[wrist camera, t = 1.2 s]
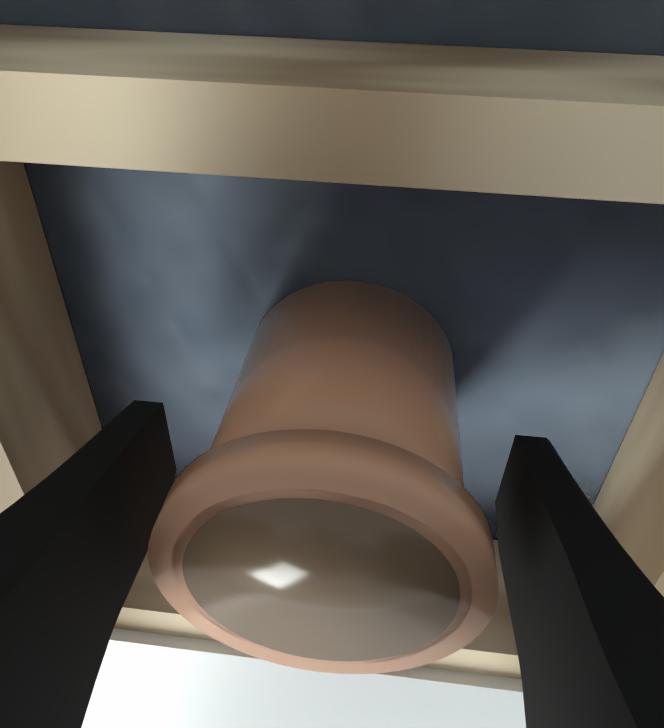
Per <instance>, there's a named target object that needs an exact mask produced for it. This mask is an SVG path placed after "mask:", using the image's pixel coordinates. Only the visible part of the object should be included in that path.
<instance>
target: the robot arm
mask: <svg viewBox="0 0 664 728" xmlns="http://www.w3.org/2000/svg"><path fill="white" fill-rule="evenodd" d="M175 474H176V465H175V460H174V455H173V450H172V445H171V441H170V436H169V431H168V426H167V421H166V416H165V411H164V406H163V403H159V402H148V401H137V400H134V401H133V402H132V403H131V404H130V405H129V406H127V407H126V408H125V409H124V410H123V411H122V412H120V413H119V414H118V415H117V416H116V417H115V418H114V419H113V420H112V421H110V422H109V423H108V424H107V425H106V426H105V427H104V428H103V429H102V430H100V431H99V432H98V433H97V434H96V435H95V436H94V437H93V438H91V439H90V440H89V441H88V442H87V443H86V444H85V445H84V446H83V447H81V448H80V449H79V450H78V451H77V452H76V453H74V454H73V455H72V456H71V457H70V458H69V459H67V460H66V461H65V462H64V463H63V464H62V465H60V466H59V467H58V468H57V469H56V470H55V471H53V472H52V473H51V474H50V475H49V476H47V477H46V478H45V479H44V480H42V481H41V482H40V483H39V484H37V485H36V486H35V487H34V488H32V489H31V490H30V491H28V492H27V493H26V494H25V495H23V496H22V497H21V498H20V499H18V500H17V501H16V502H15V503H13V504H12V505H11V506H9V507H8V508H7V509H5V510H4V511H3V512H1V513H0V728H81V727H82V724H83V721H84V718H85V714H86V711H87V708H88V705H89V701H90V698H91V695H92V692H93V689H94V685H95V682H96V679H97V676H98V673H99V670H100V667H101V664H102V661H103V658H104V655H105V652H106V649H107V646H108V643H109V640H110V637H111V634H112V632H113V629H114V626H115V624H116V621H117V619H118V616H119V614H120V611H121V609H122V607H123V605H124V602H125V600H126V598H127V596H128V594H129V591H130V589H131V587H132V585H133V582H134V580H135V578H136V576H137V573H138V571H139V569H140V567H141V564H142V562H143V560H144V558H145V555H146V553H147V551H148V543H149V539H150V536H151V532H152V529H153V527H154V525H155V522H156V520H157V518H158V515H159V513H160V511H161V508H162V506H163V504H164V501H165V499H166V497H167V494H168V492H169V490H170V488H171V487H172V484H173V481H174V477H175ZM495 505H496V523H497V538H498V551H499V556H500V562H501V568H502V573H503V578H504V584H505V589H506V595H507V600H508V605H509V611H510V616H511V621H512V626H513V632H514V637H515V642H516V648H517V653H518V658H519V665H520V672H521V679H522V688H523V699H524V710H525V721H526V728H664V597H663V596H662V594H661V593H660V592H659V591H658V590H657V589H656V587H655V586H654V585H653V584H652V583H651V582H650V580H649V579H648V578H647V577H646V576H645V574H644V573H643V572H642V571H641V569H640V568H639V567H638V566H637V564H636V563H635V562H634V561H633V559H632V558H631V557H630V556H629V555H628V553H627V552H626V551H625V549H624V548H623V547H622V545H621V544H620V543H619V542H618V540H617V539H616V538H615V536H614V535H613V534H612V532H611V531H610V529H609V528H608V527H607V525H606V524H605V523H604V521H603V520H602V518H601V517H600V516H599V514H598V513H597V512H596V510H595V509H594V507H593V506H592V505H591V503H590V502H589V500H588V499H587V497H586V496H585V494H584V493H583V491H582V490H581V488H580V487H579V485H578V484H577V483H576V481H575V480H574V478H573V476H572V475H571V473H570V472H569V470H568V469H567V467H566V466H565V464H564V463H563V461H562V460H561V458H560V456H559V455H558V453H557V452H556V450H555V449H554V447H553V445H552V444H551V442H550V441H549V440H548V439H547V438H542V437H531V436H520V435H515V438H514V442H513V445H512V448H511V452H510V455H509V458H508V462H507V465H506V468H505V472H504V475H503V478H502V482H501V485H500V488H499V492H498V495H497V498H496V502H495Z"/></svg>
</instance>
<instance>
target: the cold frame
mask: <svg viewBox="0 0 664 728" xmlns="http://www.w3.org/2000/svg"><path fill="white" fill-rule="evenodd" d="M23 162H26V163H41V164H56V165H71V166H87V167H102V168H117V169H132V170H148V171H163V172H178V173H194V174H209V175H224V176H239V177H255V178H270V179H285V180H301V181H316V182H331V183H346V184H362V185H377V186H392V187H408V188H423V189H438V190H453V191H469V192H484V193H499V194H515V195H530V196H545V197H560V198H576V199H591V200H606V201H622V202H637V203H652V204H664V56H657V55H636V54H615V53H594V52H573V51H552V50H531V49H510V48H488V47H467V46H446V45H425V44H404V43H383V42H362V41H341V40H320V39H299V38H278V37H257V36H236V35H215V34H193V33H172V32H151V31H130V30H109V29H88V28H67V27H46V26H25V25H4V24H0V513H1V512H3V511H4V510H5V509H7V508H8V507H9V506H11V505H12V504H13V503H15V502H16V501H17V500H18V499H20V498H21V497H22V496H23V495H25V494H26V493H27V492H28V491H30V490H31V489H32V488H34V487H35V486H36V485H37V484H39V483H40V482H41V481H42V480H44V479H45V478H46V477H47V476H49V475H50V474H51V473H52V472H53V471H55V470H56V469H57V468H58V467H59V466H60V465H62V464H63V463H64V462H65V461H66V460H67V459H69V458H70V457H71V456H72V455H73V454H74V453H76V452H77V451H78V450H79V449H80V448H81V447H83V446H84V445H85V444H86V443H87V442H88V441H89V440H90V439H91V438H93V437H94V436H95V435H96V434H97V433H98V432H99V431H100V430H102V428H101V424H100V421H99V418H98V414H97V411H96V407H95V404H94V401H93V397H92V394H91V391H90V387H89V384H88V380H87V377H86V374H85V370H84V367H83V363H82V360H81V357H80V353H79V350H78V346H77V343H76V340H75V336H74V333H73V330H72V326H71V323H70V319H69V316H68V313H67V309H66V306H65V302H64V299H63V296H62V292H61V289H60V285H59V282H58V279H57V275H56V272H55V269H54V265H53V262H52V258H51V255H50V252H49V248H48V245H47V241H46V238H45V235H44V231H43V228H42V225H41V221H40V218H39V214H38V211H37V208H36V204H35V201H34V197H33V194H32V191H31V187H30V184H29V180H28V177H27V174H26V170H25V167H24V164H23ZM593 507H594V509H595V510H596V512H597V513H598V514H599V516H600V517H601V518H602V520H603V521H604V523H605V524H606V525H607V527H608V528H609V529H610V531H611V532H612V534H613V535H614V536H615V538H616V539H617V540H618V542H619V543H620V544H621V545H622V547H623V548H624V549H625V551H626V552H627V553H628V555H629V556H630V557H631V558H632V559H633V561H634V562H635V563H636V564H637V566H638V567H639V568H640V569H641V571H642V572H643V573H644V574H645V576H646V577H647V578H648V579H649V580H650V582H651V583H652V584H653V585H654V586H655V587H656V589H657V590H658V591H659V592H660V593H661V594H662V596H663V597H664V352H663V354H662V357H661V359H660V361H659V363H658V365H657V368H656V370H655V372H654V374H653V376H652V378H651V381H650V383H649V385H648V387H647V389H646V392H645V394H644V396H643V398H642V400H641V402H640V405H639V407H638V409H637V411H636V413H635V416H634V418H633V420H632V422H631V424H630V426H629V429H628V431H627V433H626V435H625V437H624V440H623V442H622V444H621V446H620V448H619V450H618V453H617V455H616V457H615V459H614V461H613V463H612V466H611V468H610V470H609V472H608V474H607V477H606V479H605V481H604V483H603V485H602V487H601V490H600V492H599V494H598V496H597V498H596V501H595V503H594V505H593ZM493 545H494V553H495V561H496V569H497V577H498V601H497V605H496V609H495V612H494V614H493V616H492V618H491V620H490V622H489V623H488V625H487V626H486V627H485V628H484V630H483V631H482V632H481V633H480V634H479V635H478V636H477V637H476V638H475V639H474V640H473V641H472V642H470V643H469V644H467V645H466V646H464V647H463V648H461V649H460V650H458V651H457V652H455V653H453V654H451V655H449V656H447V657H445V658H442V659H440V660H437V661H434V662H432V663H429V664H426V665H422V666H418V667H415V668H411V669H405V670H400V671H394V672H385V673H376V674H335V673H325V672H316V671H309V670H303V669H297V668H293V667H288V666H284V665H279V664H276V663H272V662H269V661H266V660H262V659H259V658H256V657H254V656H251V655H248V654H245V653H243V652H241V651H238V650H236V649H234V648H231V647H229V646H227V645H225V644H223V643H221V642H219V641H218V640H216V639H214V638H212V637H210V636H209V635H207V634H206V633H204V632H202V631H201V630H199V629H198V628H196V627H195V626H194V625H192V624H191V623H190V622H189V621H187V620H186V619H185V618H183V617H182V616H181V615H180V614H179V613H178V612H177V611H176V610H175V609H174V608H173V607H172V606H171V605H170V603H169V602H168V601H167V600H166V598H165V597H164V596H163V595H162V593H161V592H160V590H159V588H158V587H157V585H156V583H155V581H154V578H153V576H152V573H151V571H150V567H149V561H148V551H147V553H146V555H145V558H144V560H143V562H142V564H141V567H140V569H139V571H138V573H137V576H136V578H135V580H134V582H133V585H132V587H131V589H130V591H129V594H128V596H127V598H126V600H125V602H124V605H123V607H122V609H121V611H120V614H119V616H118V619H117V621H116V624H115V626H114V629H113V632H112V634H111V637H110V640H109V643H108V646H107V649H106V652H105V655H104V658H103V661H102V664H101V667H100V670H99V673H98V676H97V679H96V682H95V685H94V689H93V692H92V695H91V698H90V701H89V705H88V708H87V711H86V714H85V718H84V721H83V724H82V727H81V728H526V721H525V710H524V699H523V688H522V679H521V672H520V665H519V658H518V653H517V648H516V642H515V637H514V632H513V626H512V621H511V616H510V611H509V605H508V600H507V595H506V589H505V584H504V578H503V573H502V568H501V562H500V556H499V551H498V540H493Z"/></svg>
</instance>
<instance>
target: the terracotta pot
mask: <svg viewBox="0 0 664 728" xmlns="http://www.w3.org/2000/svg"><path fill="white" fill-rule="evenodd" d="M148 561H149V567H150V571H151V573H152V576H153V578H154V581H155V583H156V585H157V587H158V588H159V590H160V592H161V593H162V595H163V596H164V597H165V598H166V600H167V601H168V602H169V603H170V605H171V606H172V607H173V608H174V609H175V610H176V611H177V612H178V613H179V614H180V615H181V616H182V617H183V618H185V619H186V620H187V621H189V622H190V623H191V624H192V625H194V626H195V627H196V628H198V629H199V630H201V631H202V632H204V633H206V634H207V635H209V636H210V637H212V638H214V639H216V640H218V641H219V642H221V643H223V644H225V645H227V646H229V647H231V648H234V649H236V650H238V651H241V652H243V653H245V654H248V655H251V656H254V657H256V658H259V659H262V660H266V661H269V662H272V663H276V664H279V665H284V666H288V667H293V668H297V669H303V670H309V671H316V672H325V673H335V674H376V673H385V672H394V671H400V670H405V669H411V668H415V667H418V666H422V665H426V664H429V663H432V662H434V661H437V660H440V659H442V658H445V657H447V656H449V655H451V654H453V653H455V652H457V651H458V650H460V649H461V648H463V647H464V646H466V645H467V644H469V643H470V642H472V641H473V640H474V639H475V638H476V637H477V636H478V635H479V634H480V633H481V632H482V631H483V630H484V628H485V627H486V626H487V625H488V623H489V622H490V620H491V618H492V616H493V614H494V612H495V609H496V605H497V601H498V577H497V569H496V561H495V553H494V545H493V538H492V534H491V530H490V526H489V523H488V521H487V519H486V517H485V515H484V513H483V511H482V509H481V508H480V506H479V505H478V503H477V502H476V501H475V499H474V498H473V496H472V495H471V494H470V493H469V492H468V491H467V490H466V489H465V488H464V484H463V472H462V460H461V448H460V436H459V424H458V413H457V401H456V389H455V377H454V365H453V356H452V352H451V347H450V344H449V342H448V339H447V337H446V335H445V333H444V331H443V330H442V328H441V327H440V325H439V324H438V322H437V321H436V320H435V319H434V318H433V316H432V315H431V314H430V313H429V312H428V311H426V310H425V309H424V308H423V307H422V306H421V305H419V304H418V303H417V302H415V301H414V300H412V299H411V298H409V297H407V296H405V295H403V294H402V293H400V292H398V291H395V290H393V289H390V288H387V287H385V286H381V285H377V284H373V283H369V282H362V281H347V280H339V281H329V282H323V283H318V284H314V285H311V286H308V287H305V288H302V289H299V290H298V291H296V292H294V293H292V294H290V295H288V296H286V297H285V298H284V299H282V300H281V301H279V302H278V303H277V304H276V305H275V306H274V307H272V308H271V309H270V310H269V311H268V313H267V314H266V315H265V317H264V318H263V319H262V321H261V322H260V324H259V326H258V328H257V330H256V332H255V335H254V337H253V340H252V343H251V345H250V348H249V350H248V353H247V356H246V358H245V361H244V363H243V366H242V369H241V371H240V374H239V377H238V379H237V382H236V384H235V387H234V390H233V392H232V395H231V397H230V400H229V403H228V405H227V408H226V410H225V413H224V416H223V418H222V421H221V423H220V426H219V429H218V431H217V434H216V436H215V439H214V442H213V444H212V447H211V449H210V450H209V451H207V452H205V453H204V454H202V455H200V456H199V457H197V458H196V459H195V460H194V461H193V462H191V463H190V464H189V465H188V466H186V467H185V469H184V470H183V471H182V472H181V473H180V474H179V476H178V477H177V478H176V479H175V481H174V483H173V485H172V487H171V488H170V490H169V492H168V494H167V497H166V499H165V501H164V504H163V506H162V508H161V511H160V513H159V515H158V518H157V520H156V522H155V525H154V527H153V529H152V532H151V536H150V539H149V543H148Z"/></svg>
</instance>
